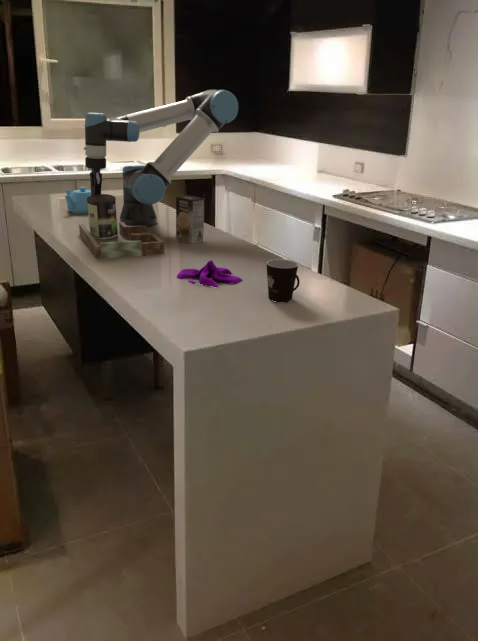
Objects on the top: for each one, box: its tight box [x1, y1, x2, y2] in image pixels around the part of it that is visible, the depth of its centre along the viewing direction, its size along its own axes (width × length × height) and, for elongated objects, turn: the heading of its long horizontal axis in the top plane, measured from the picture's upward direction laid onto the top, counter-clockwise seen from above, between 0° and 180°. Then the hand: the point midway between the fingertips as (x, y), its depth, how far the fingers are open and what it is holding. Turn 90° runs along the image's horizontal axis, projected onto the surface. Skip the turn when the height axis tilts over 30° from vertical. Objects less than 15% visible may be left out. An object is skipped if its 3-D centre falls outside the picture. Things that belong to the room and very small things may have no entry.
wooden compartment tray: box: [78, 221, 165, 260], centre depth 220 cm, size 23×36×5 cm, turn 22°
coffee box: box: [175, 194, 205, 245], centre depth 227 cm, size 9×6×16 cm
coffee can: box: [87, 193, 119, 240], centre depth 227 cm, size 10×10×14 cm
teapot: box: [64, 186, 91, 215], centre depth 271 cm, size 15×15×11 cm
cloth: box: [176, 259, 243, 288], centre depth 184 cm, size 22×19×6 cm
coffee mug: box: [265, 258, 300, 303], centre depth 167 cm, size 12×9×10 cm
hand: (96, 220), depth 236 cm, fingers closed
